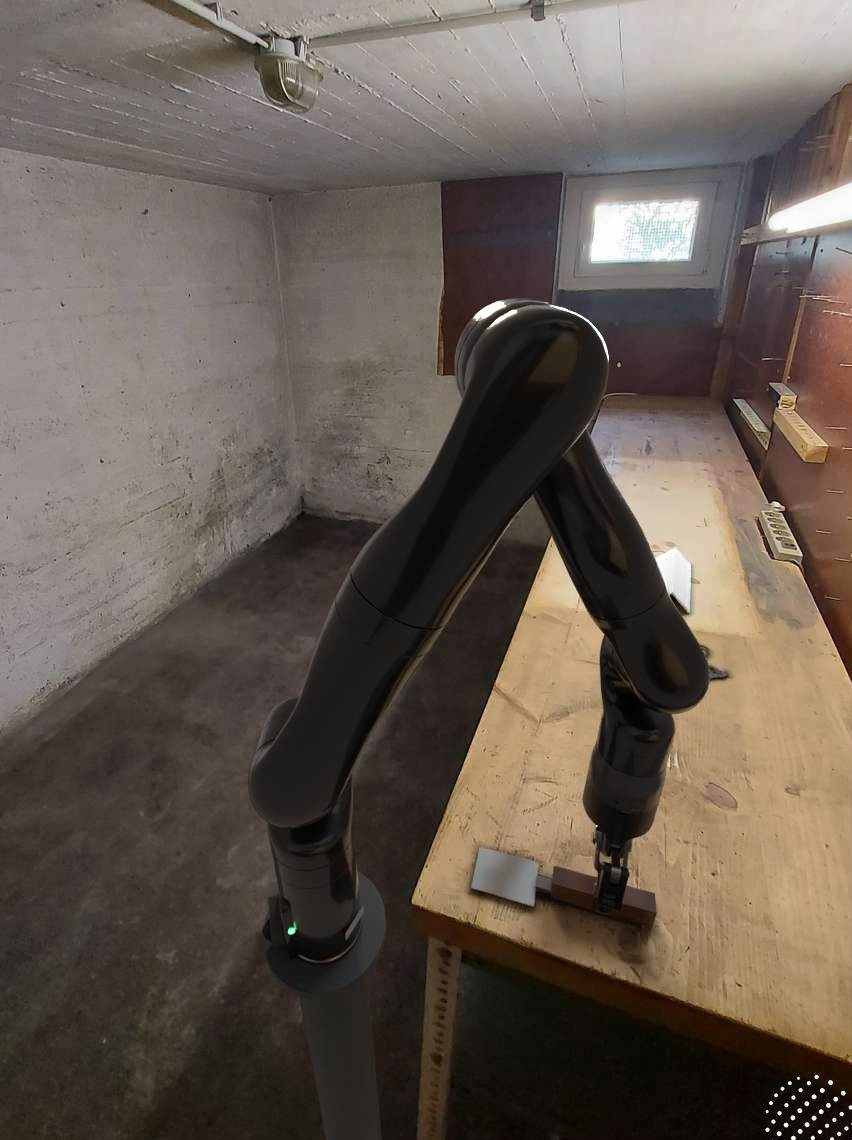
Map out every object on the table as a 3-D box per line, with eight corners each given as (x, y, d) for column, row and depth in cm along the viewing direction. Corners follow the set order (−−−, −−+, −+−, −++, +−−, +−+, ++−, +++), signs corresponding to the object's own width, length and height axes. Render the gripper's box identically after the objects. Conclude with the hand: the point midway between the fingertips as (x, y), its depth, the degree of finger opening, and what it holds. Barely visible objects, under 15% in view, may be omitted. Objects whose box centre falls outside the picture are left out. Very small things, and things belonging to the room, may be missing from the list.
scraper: (649, 894, 71) (654, 879, 70) (653, 943, 66) (658, 928, 65) (479, 847, 77) (480, 832, 76) (470, 888, 72) (471, 873, 71)
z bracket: (669, 576, 151) (690, 564, 148) (665, 624, 131) (689, 612, 128) (640, 542, 151) (661, 529, 147) (631, 585, 131) (655, 572, 127)
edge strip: (492, 884, 73) (492, 883, 73) (496, 863, 76) (496, 862, 75) (641, 928, 68) (641, 927, 68) (640, 904, 70) (640, 903, 70)
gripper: (588, 727, 68) (571, 817, 75) (586, 827, 56) (566, 923, 63) (655, 741, 66) (631, 833, 73) (667, 848, 54) (637, 946, 61)
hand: (600, 875), depth 68 cm, fingers open, 8 cm apart
